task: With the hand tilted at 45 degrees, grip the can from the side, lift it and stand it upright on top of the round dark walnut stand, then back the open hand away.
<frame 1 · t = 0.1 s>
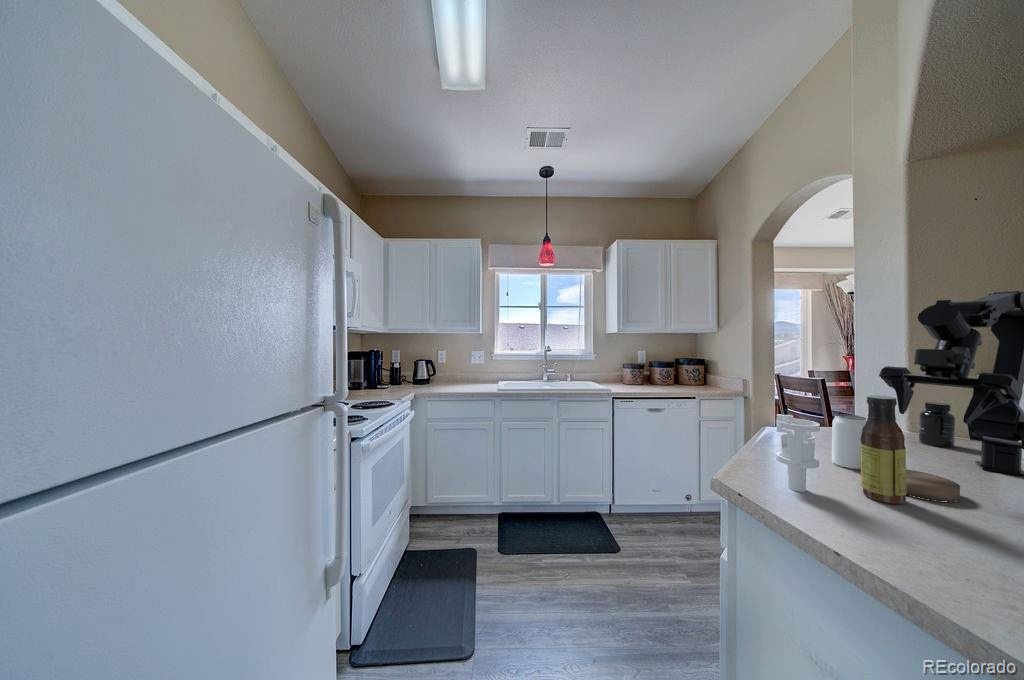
hand: (931, 417, 76), 15 cm above the countertop, tool tilted 35°, fingers open, 9 cm apart
sauce bottle: (882, 499, 72), on the countertop
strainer: (796, 489, 77), on the countertop
walnut stand: (917, 490, 76), on the countertop
can: (849, 466, 90), on the countertop
supplement bottle: (936, 445, 107), on the countertop
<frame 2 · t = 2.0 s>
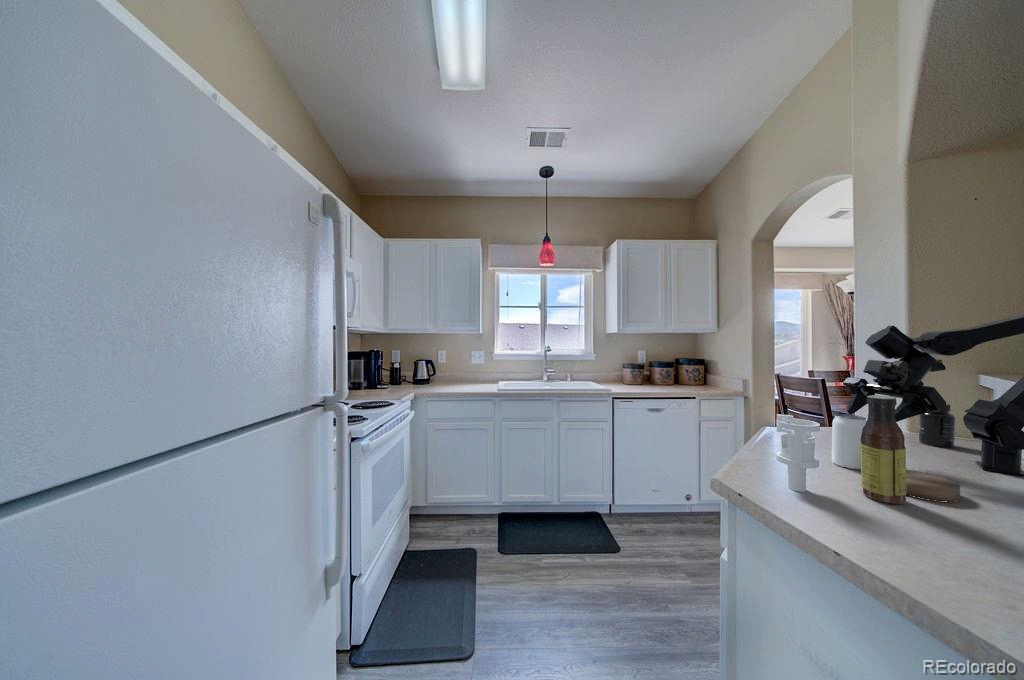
hand: (868, 417, 91), 12 cm above the countertop, tool tilted 45°, fingers open, 9 cm apart
nothing on the countertop moved.
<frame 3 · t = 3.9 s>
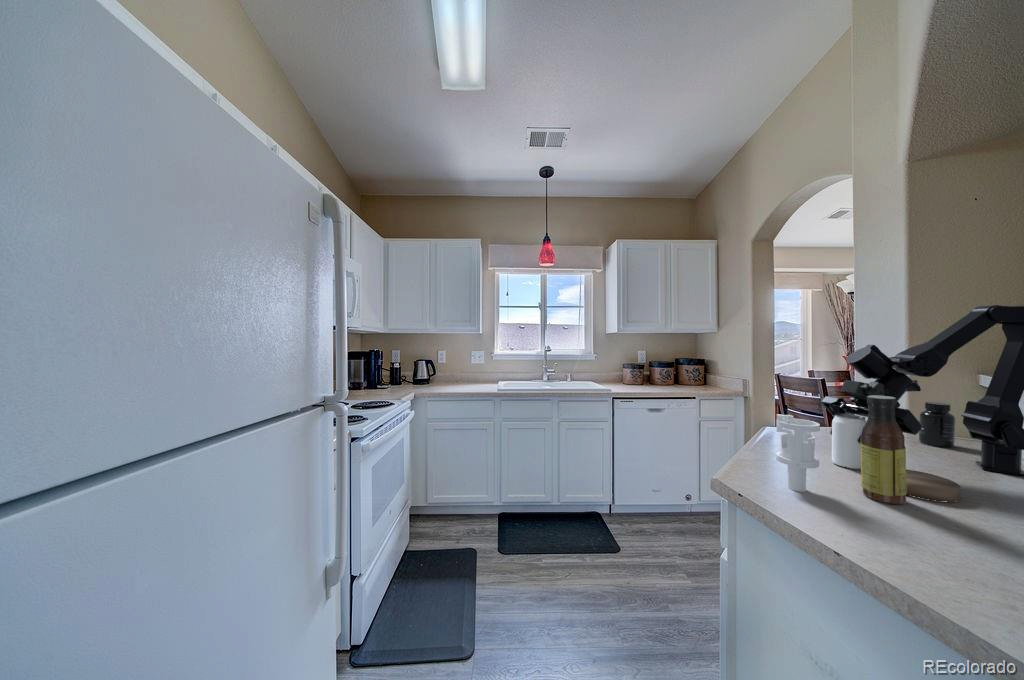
hand: (845, 438, 90), 7 cm above the countertop, tool tilted 45°, fingers closed on can, 6 cm apart
can: (849, 466, 90), on the countertop, touching gripper
everything else where it was.
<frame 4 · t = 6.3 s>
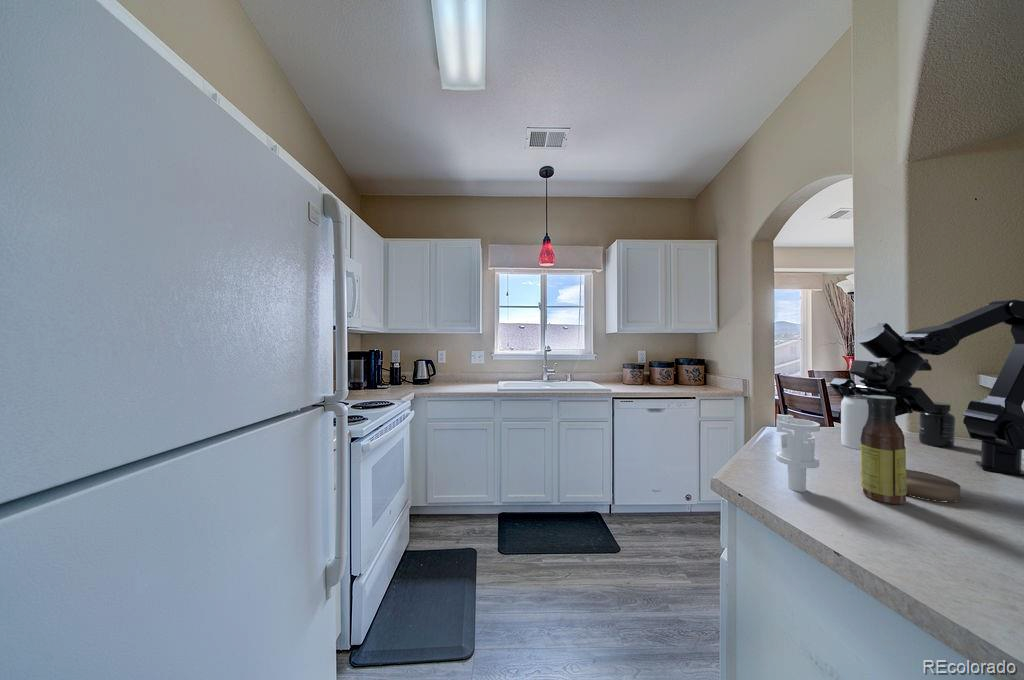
hand: (854, 419, 87), 12 cm above the countertop, tool tilted 45°, fingers closed on can, 6 cm apart
can: (859, 448, 88), point 5 cm above the countertop, touching gripper
everything else where it was.
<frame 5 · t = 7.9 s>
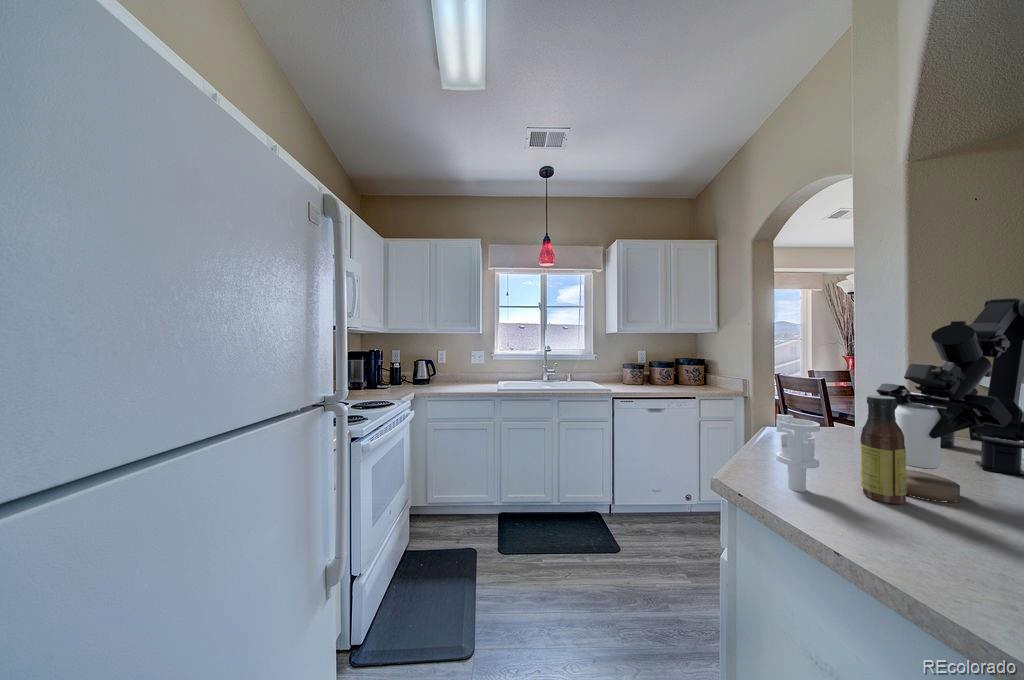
hand: (911, 432, 76), 12 cm above the countertop, tool tilted 45°, fingers closed on can, 6 cm apart
can: (916, 465, 76), point 5 cm above the countertop, touching gripper
everything else where it was.
when the fingers open (10 cm above the countertop, at t = 8.9 s): can drops 1 cm, resting on walnut stand.
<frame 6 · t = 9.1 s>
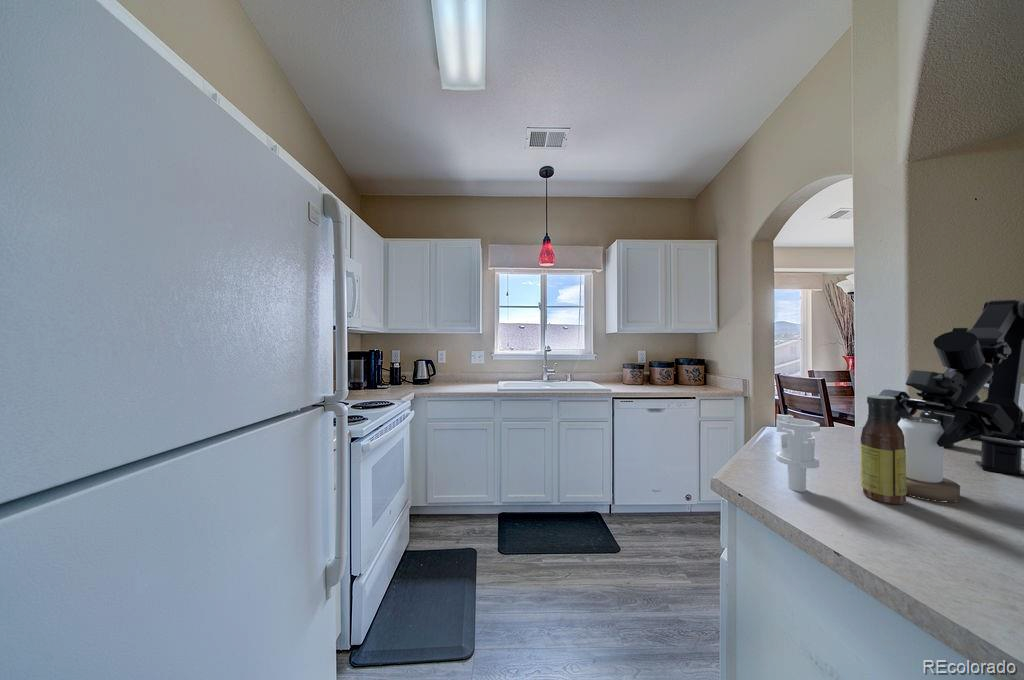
hand: (913, 439, 76), 11 cm above the countertop, tool tilted 45°, fingers open, 8 cm apart
can: (918, 478, 76), point 2 cm above the countertop, touching walnut stand
everything else where it was.
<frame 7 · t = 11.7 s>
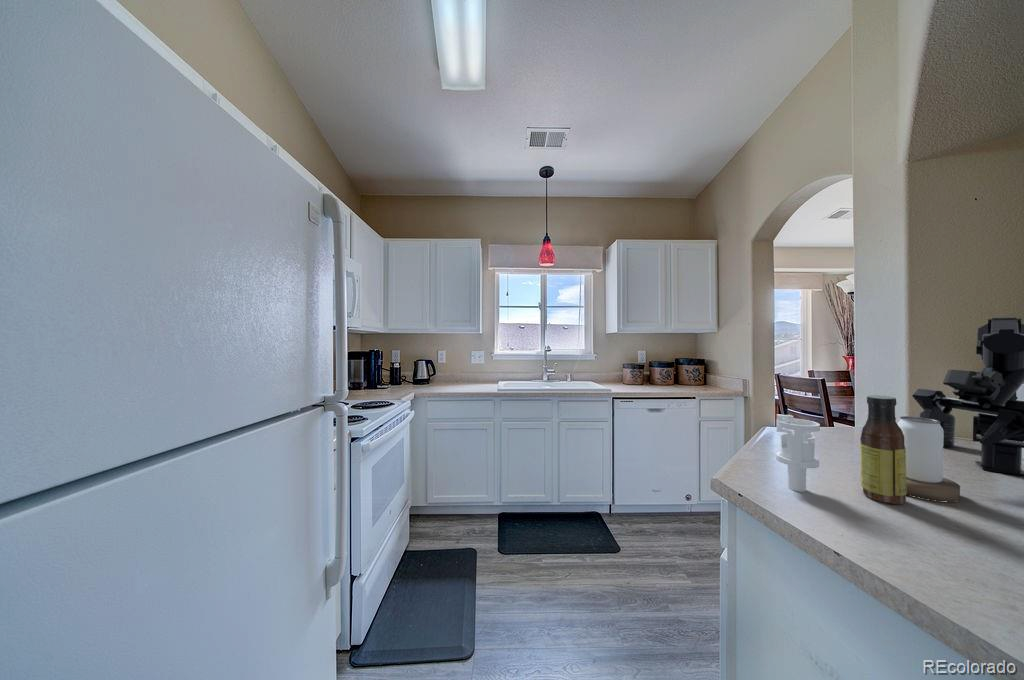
hand: (951, 437, 77), 11 cm above the countertop, tool tilted 45°, fingers open, 9 cm apart
nothing on the countertop moved.
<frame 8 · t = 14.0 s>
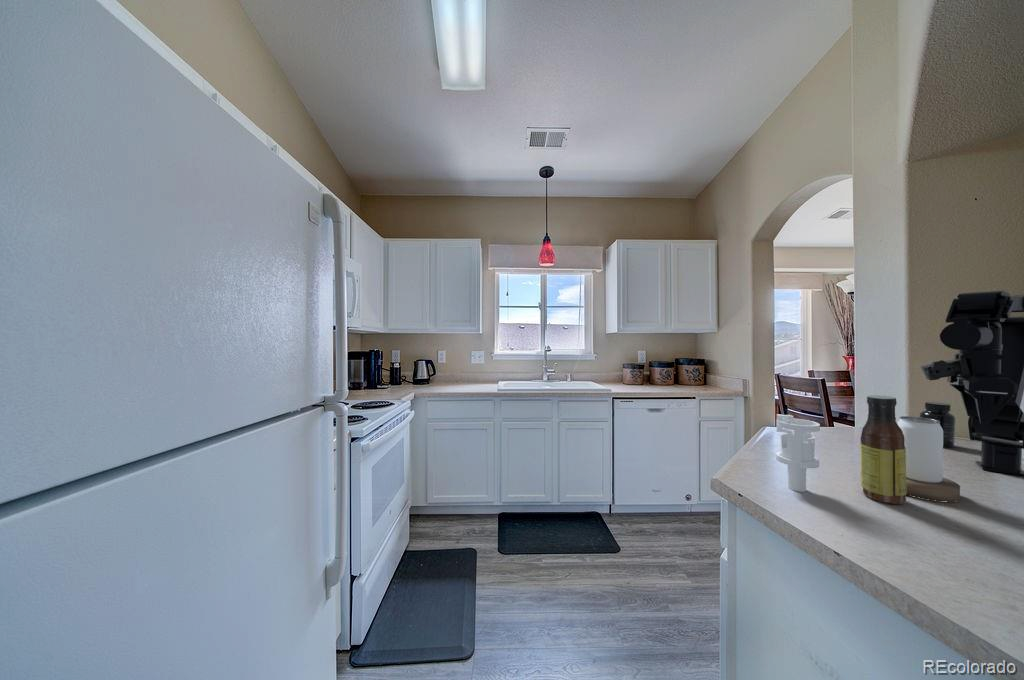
hand: (977, 420, 82), 13 cm above the countertop, tool pointing down, fingers open, 9 cm apart
nothing on the countertop moved.
at the end: can 0.2 cm off-centre on the walnut stand, point 2.3 cm above the walnut stand's base; can tilted 0°; the gripper is holding nothing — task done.
